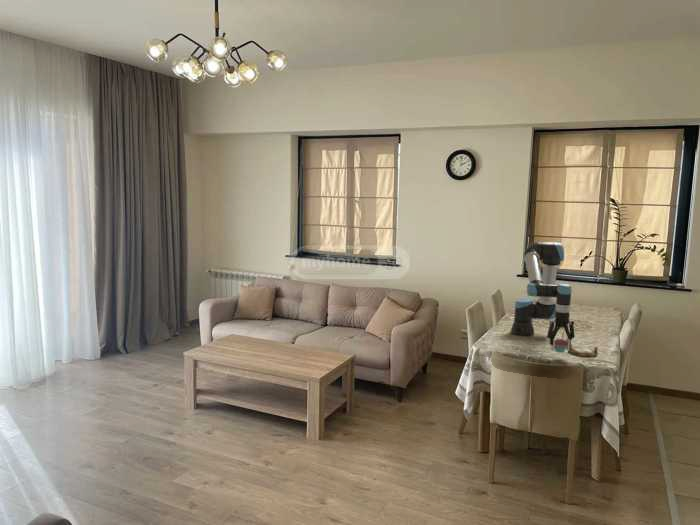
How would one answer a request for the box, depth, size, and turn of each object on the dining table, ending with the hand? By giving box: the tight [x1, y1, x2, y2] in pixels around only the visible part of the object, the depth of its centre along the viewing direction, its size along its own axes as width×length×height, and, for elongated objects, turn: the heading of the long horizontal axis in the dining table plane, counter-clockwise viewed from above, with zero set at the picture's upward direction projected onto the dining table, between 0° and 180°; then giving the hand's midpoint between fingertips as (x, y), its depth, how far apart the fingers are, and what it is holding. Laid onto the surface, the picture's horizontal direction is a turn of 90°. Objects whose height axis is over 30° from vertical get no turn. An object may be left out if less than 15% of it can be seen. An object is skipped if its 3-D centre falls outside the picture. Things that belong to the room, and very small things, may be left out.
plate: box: [567, 343, 599, 358], centre depth 313 cm, size 16×16×4 cm
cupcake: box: [554, 331, 568, 353], centre depth 300 cm, size 9×8×12 cm
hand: (559, 349), depth 301 cm, fingers closed on cupcake, 8 cm apart
